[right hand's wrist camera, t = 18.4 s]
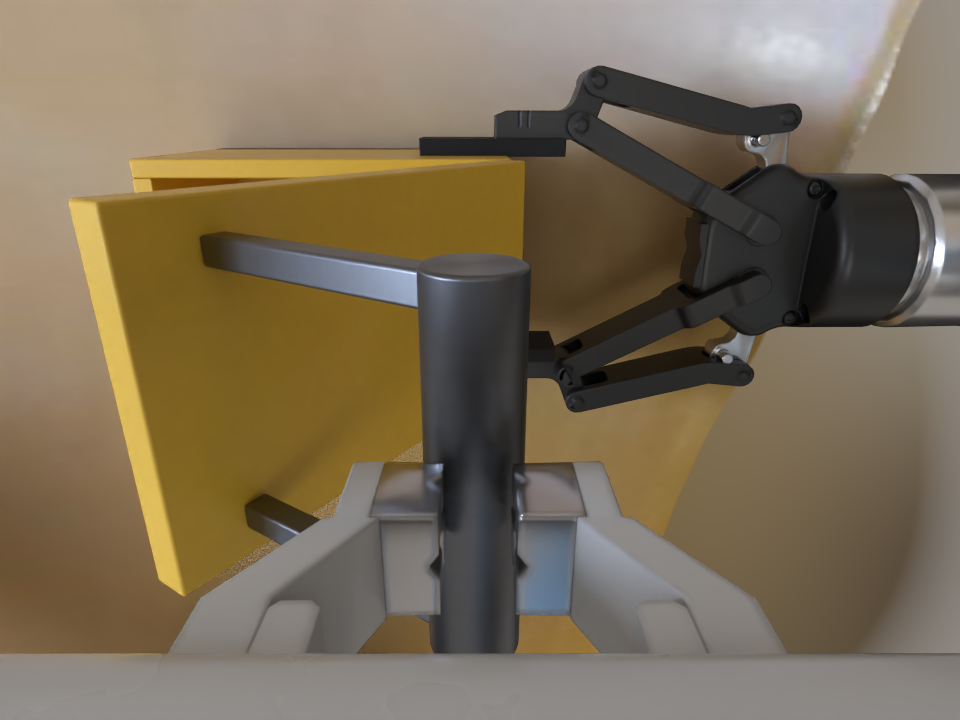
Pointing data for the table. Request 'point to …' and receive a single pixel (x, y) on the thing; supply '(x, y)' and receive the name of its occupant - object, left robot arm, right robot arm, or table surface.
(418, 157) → the chest
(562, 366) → the left robot arm
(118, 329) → the lid
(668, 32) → the table surface
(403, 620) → the table surface
